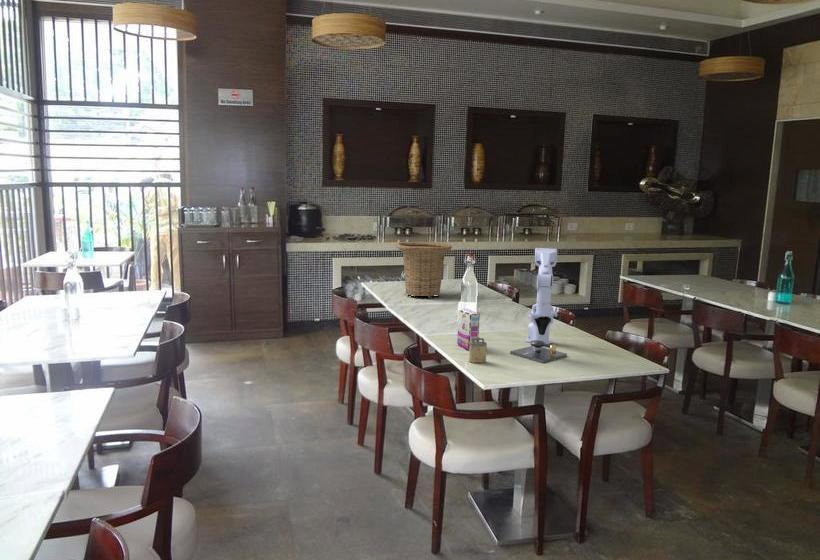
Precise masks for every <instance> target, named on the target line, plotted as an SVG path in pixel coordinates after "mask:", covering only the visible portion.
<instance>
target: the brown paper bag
mask: <svg viewBox="0 0 820 560" xmlns="http://www.w3.org/2000/svg"><path fill="white" fill-rule="evenodd" d="M475 340H477V342H474V341H475ZM487 346H488V345H487V342H485V338H483V337H477V338H472V342H470V350H469V351H468V352H469V354H468V355H469V356H468V362H469V363H472V364H480V363H481V364H482V363H483V364H484V363H487V348H488V347H487Z"/></svg>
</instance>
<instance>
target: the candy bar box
mask: <svg viewBox="0 0 820 560" xmlns="http://www.w3.org/2000/svg"><path fill="white" fill-rule="evenodd" d="M480 315H481V314H480V313H479V312H476V311H474V310H473V311H472V309H469V308H463V309H458V321H457V322H458V323H457V340H456V341H457V343H456V344H458V345H460V346H461V347H460V346H459V347H460V348H462V347H463V348H462V349H464V348H465V350H466V351H468V352H469V350H470V342H472V338H477V337H479V335H480V334H479V333H480V320H481V319H480V317H481V316H480ZM479 338H480V337H479ZM474 342H477V340H475V341H474ZM458 345H457V346H458Z"/></svg>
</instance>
